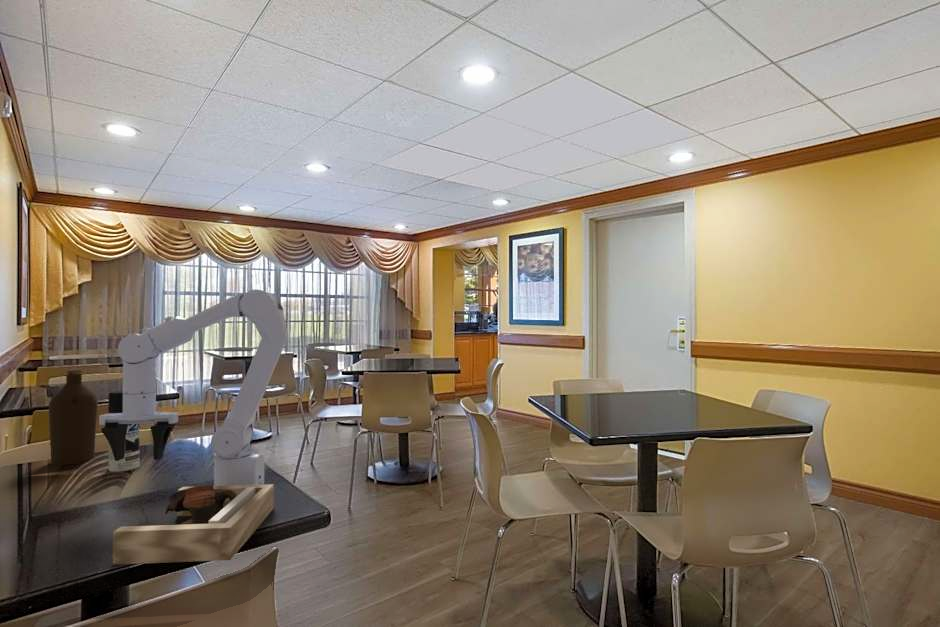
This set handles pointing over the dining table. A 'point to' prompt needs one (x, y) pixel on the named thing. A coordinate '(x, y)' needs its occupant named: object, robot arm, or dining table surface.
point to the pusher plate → (233, 506)
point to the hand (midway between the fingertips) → (139, 459)
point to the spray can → (131, 440)
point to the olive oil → (72, 422)
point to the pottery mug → (199, 503)
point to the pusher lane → (194, 534)
